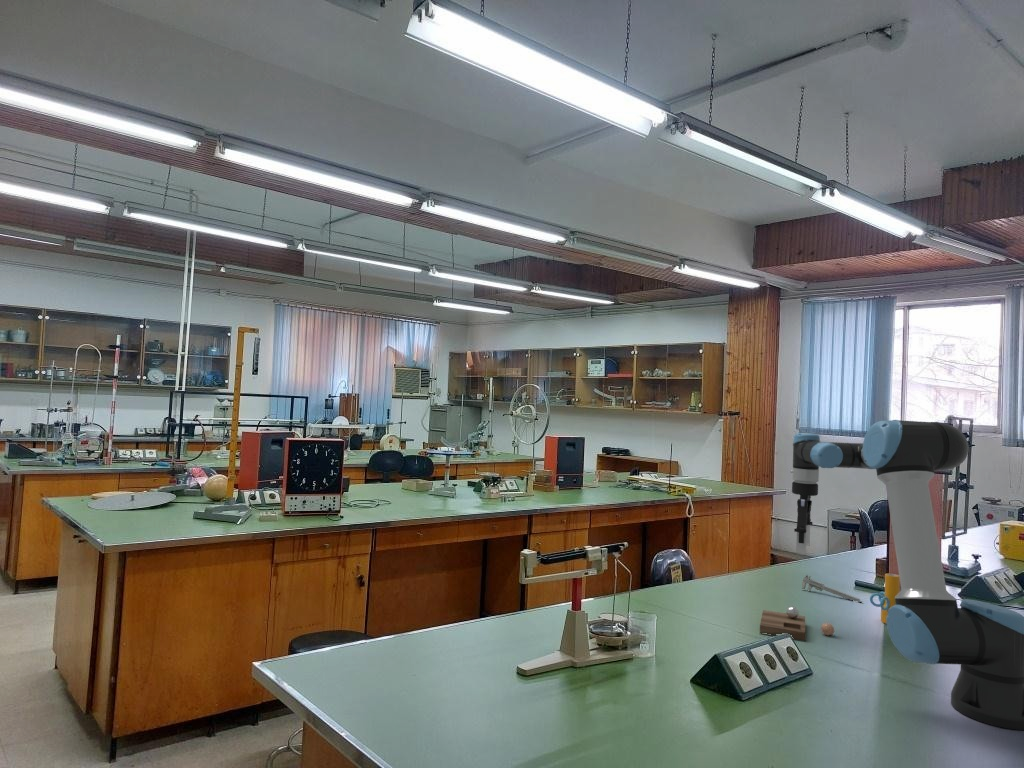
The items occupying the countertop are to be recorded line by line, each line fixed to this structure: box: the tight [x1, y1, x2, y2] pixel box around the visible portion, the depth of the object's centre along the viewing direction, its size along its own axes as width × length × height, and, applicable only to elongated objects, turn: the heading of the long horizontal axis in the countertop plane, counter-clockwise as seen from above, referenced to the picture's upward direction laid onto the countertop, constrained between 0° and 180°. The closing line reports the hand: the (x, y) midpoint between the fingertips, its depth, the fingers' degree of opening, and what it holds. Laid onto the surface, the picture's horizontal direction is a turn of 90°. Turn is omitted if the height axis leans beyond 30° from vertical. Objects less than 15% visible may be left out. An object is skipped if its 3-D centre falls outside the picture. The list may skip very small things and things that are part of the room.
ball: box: [820, 622, 835, 637], centre depth 185 cm, size 4×4×4 cm
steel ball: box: [785, 605, 800, 618], centre depth 192 cm, size 4×4×4 cm
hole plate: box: [759, 609, 806, 642], centre depth 189 cm, size 16×12×2 cm
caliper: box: [801, 574, 863, 603], centre depth 228 cm, size 20×1×6 cm, turn 46°
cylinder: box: [869, 572, 901, 625], centre depth 200 cm, size 12×10×15 cm
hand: (803, 549), depth 200 cm, fingers open, 13 cm apart
